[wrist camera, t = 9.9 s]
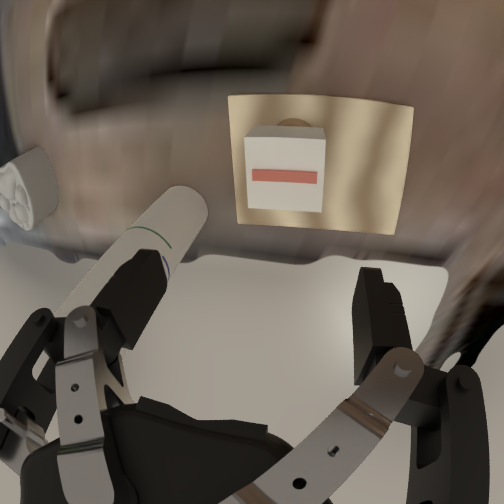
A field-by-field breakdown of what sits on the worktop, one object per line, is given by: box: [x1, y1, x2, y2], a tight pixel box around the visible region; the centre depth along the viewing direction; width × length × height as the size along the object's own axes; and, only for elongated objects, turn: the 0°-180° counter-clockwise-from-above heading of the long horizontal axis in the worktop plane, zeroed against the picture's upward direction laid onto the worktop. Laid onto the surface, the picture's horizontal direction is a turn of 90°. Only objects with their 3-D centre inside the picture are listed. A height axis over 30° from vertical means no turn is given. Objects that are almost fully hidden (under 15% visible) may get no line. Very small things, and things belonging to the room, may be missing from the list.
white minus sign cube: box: [244, 126, 326, 213], centre depth 22 cm, size 6×6×5 cm
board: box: [228, 94, 414, 235], centre depth 31 cm, size 20×16×2 cm
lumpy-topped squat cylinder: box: [0, 146, 59, 230], centre depth 38 cm, size 10×13×9 cm
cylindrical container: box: [54, 185, 208, 360], centre depth 29 cm, size 7×7×25 cm
